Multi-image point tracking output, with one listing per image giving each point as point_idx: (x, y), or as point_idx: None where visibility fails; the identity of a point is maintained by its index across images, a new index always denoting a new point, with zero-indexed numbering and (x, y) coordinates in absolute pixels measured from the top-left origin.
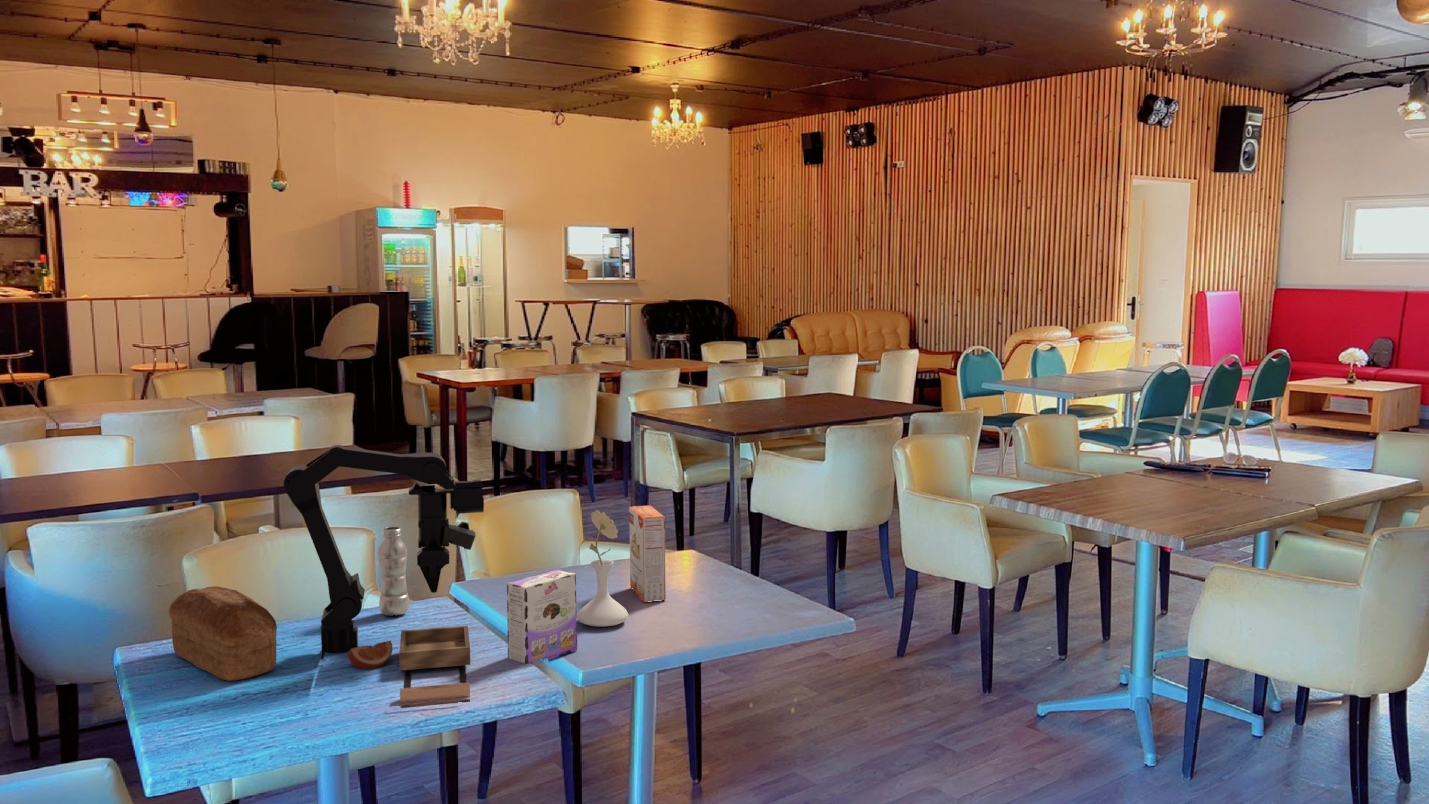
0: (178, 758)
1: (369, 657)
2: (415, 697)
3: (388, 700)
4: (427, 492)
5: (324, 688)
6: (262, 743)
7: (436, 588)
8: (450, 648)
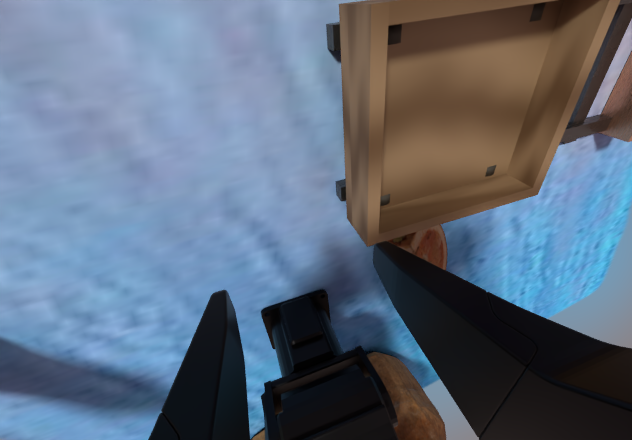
0: (566, 299)
1: (440, 251)
2: None
3: (560, 157)
4: None
5: (459, 266)
6: (584, 254)
7: (404, 254)
8: (594, 54)
